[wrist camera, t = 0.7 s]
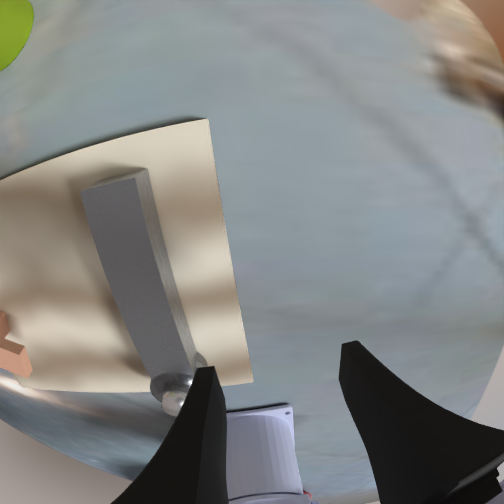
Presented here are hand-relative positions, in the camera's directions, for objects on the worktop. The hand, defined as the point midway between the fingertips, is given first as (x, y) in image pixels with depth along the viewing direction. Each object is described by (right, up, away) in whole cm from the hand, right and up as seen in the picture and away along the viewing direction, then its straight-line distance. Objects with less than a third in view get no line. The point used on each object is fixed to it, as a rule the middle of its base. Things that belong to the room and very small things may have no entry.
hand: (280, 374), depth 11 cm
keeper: (-20, -1, +8) cm, 22 cm away
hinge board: (-14, +1, +8) cm, 16 cm away
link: (-7, +1, +8) cm, 11 cm away
